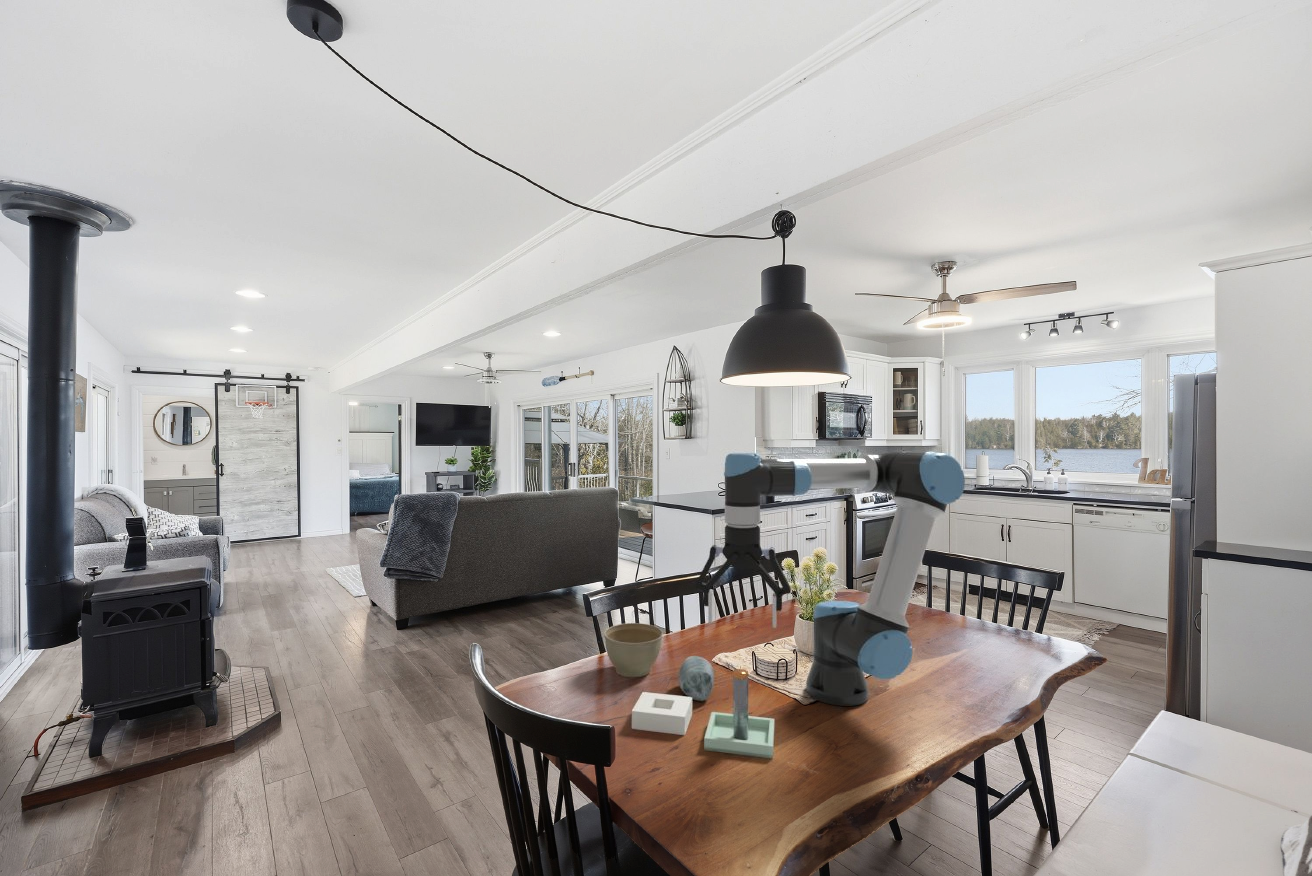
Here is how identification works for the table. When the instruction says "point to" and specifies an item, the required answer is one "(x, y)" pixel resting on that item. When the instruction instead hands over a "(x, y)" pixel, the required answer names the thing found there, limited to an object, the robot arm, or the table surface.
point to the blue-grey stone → (696, 678)
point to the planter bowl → (633, 647)
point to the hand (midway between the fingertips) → (742, 623)
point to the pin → (740, 704)
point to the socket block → (662, 713)
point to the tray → (756, 745)
